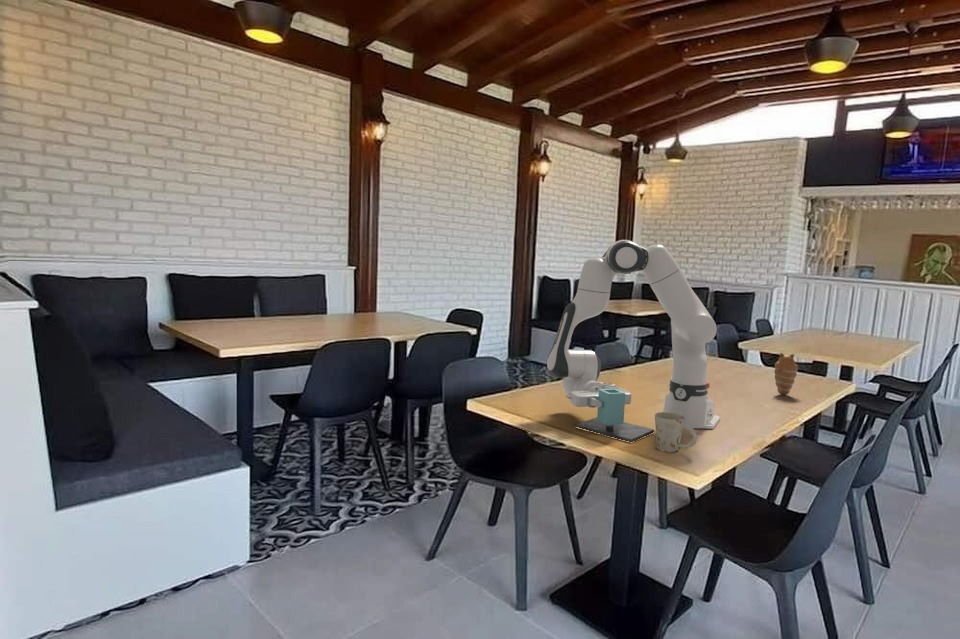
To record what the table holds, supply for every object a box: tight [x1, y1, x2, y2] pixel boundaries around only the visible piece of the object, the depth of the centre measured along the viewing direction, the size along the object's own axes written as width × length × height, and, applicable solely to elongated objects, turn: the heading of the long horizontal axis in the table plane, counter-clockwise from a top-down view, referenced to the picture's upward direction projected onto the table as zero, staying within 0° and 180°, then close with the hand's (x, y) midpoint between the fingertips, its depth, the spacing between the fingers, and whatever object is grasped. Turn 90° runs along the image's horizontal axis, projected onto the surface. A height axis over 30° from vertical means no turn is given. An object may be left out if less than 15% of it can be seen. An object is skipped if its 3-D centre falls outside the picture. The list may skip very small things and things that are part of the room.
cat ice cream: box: [774, 352, 799, 396], centre depth 245 cm, size 9×8×18 cm
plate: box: [574, 416, 655, 443], centre depth 187 cm, size 15×20×6 cm
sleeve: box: [596, 389, 626, 425], centre depth 184 cm, size 6×6×10 cm
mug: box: [654, 411, 698, 453], centre depth 169 cm, size 8×13×10 cm, turn 51°
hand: (612, 404), depth 183 cm, fingers closed on sleeve, 6 cm apart
